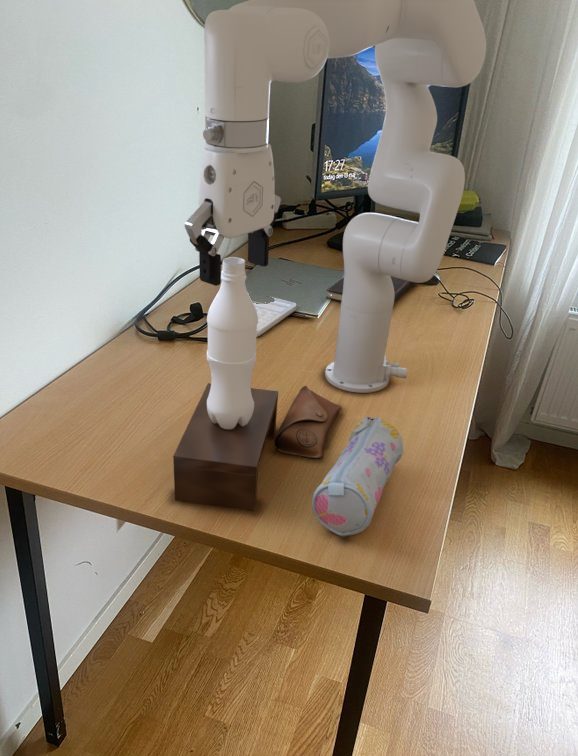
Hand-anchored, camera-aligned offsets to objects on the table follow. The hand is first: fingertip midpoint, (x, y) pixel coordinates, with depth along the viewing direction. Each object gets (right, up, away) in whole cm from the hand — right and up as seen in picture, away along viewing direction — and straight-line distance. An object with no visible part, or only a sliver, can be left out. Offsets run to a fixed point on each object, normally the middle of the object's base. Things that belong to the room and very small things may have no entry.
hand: (234, 273), depth 89 cm
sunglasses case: (+13, -20, +27) cm, 36 cm away
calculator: (+4, +7, +66) cm, 67 cm away
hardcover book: (+35, +17, +82) cm, 91 cm away
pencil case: (+18, -31, +11) cm, 38 cm away
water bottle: (-1, -19, +13) cm, 23 cm away
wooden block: (-1, -26, +17) cm, 31 cm away
